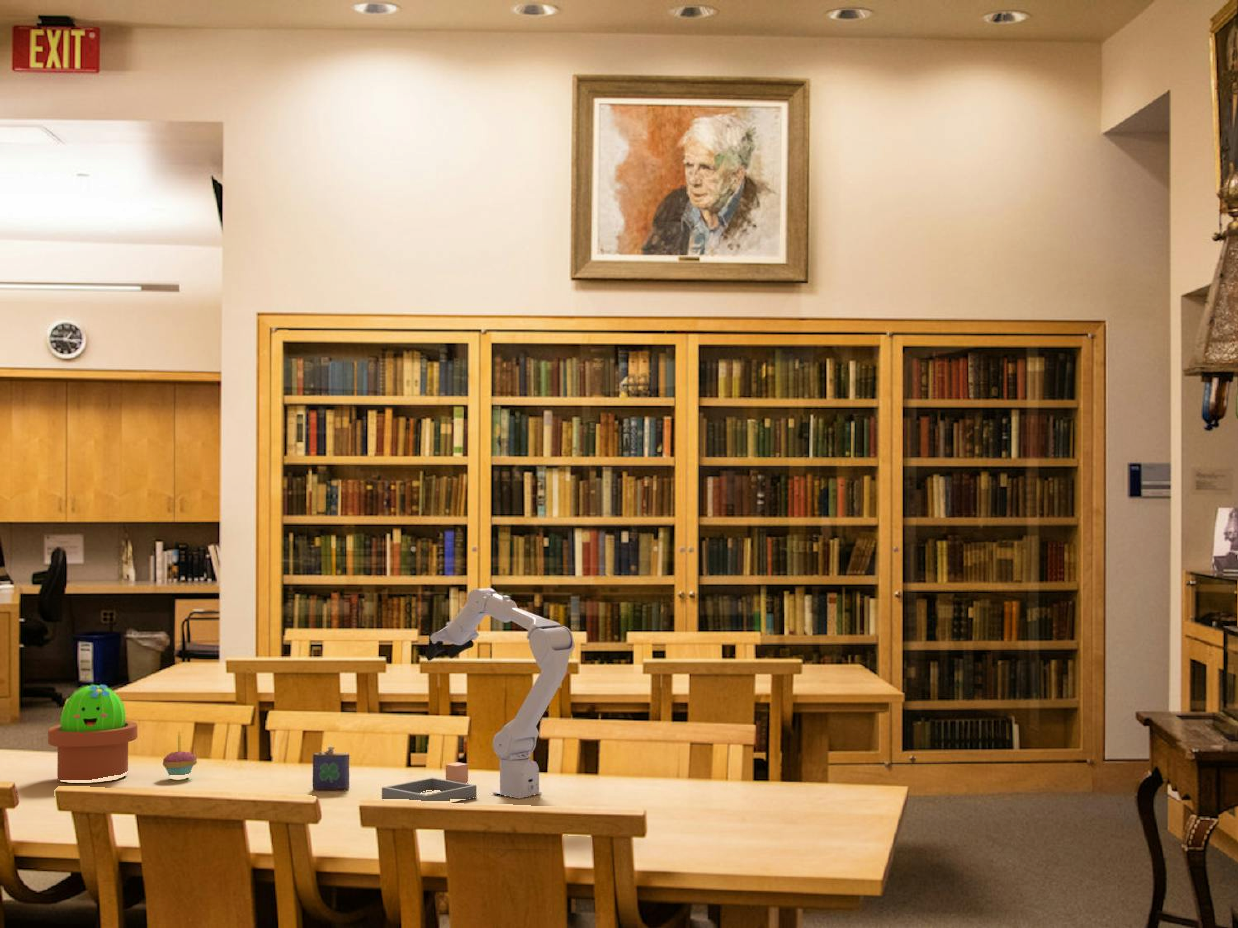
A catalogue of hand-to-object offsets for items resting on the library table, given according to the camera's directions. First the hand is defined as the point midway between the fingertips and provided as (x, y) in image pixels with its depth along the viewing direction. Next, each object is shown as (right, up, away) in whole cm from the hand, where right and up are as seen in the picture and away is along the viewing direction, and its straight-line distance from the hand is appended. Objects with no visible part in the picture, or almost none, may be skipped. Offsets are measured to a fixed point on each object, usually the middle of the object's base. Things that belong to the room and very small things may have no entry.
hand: (438, 656), depth 355 cm
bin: (+1, -31, -24) cm, 39 cm away
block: (+5, -32, -6) cm, 33 cm away
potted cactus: (-92, -33, +6) cm, 98 cm away
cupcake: (-68, -33, +4) cm, 76 cm away
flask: (-25, -32, -12) cm, 42 cm away
